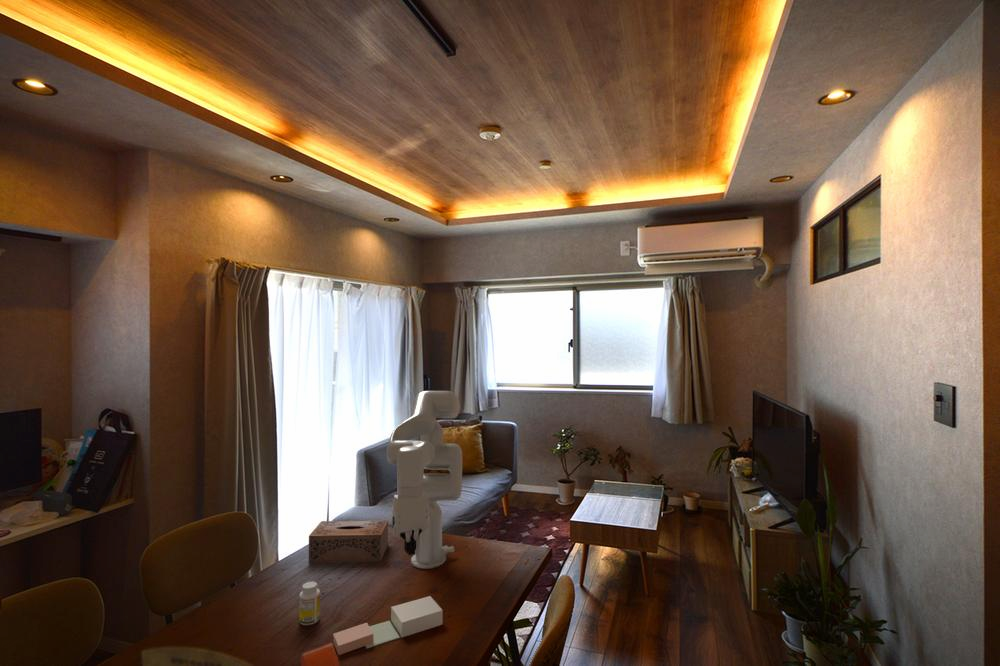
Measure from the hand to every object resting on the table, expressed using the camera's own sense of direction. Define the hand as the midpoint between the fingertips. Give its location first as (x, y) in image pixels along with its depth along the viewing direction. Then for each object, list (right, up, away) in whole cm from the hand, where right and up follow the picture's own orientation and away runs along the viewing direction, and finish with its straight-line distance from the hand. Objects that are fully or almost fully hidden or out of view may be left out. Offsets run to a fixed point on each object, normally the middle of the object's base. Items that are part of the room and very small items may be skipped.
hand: (410, 553), depth 142 cm
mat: (-7, -19, -8) cm, 21 cm away
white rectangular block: (+2, -19, -3) cm, 19 cm away
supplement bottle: (-29, -19, -2) cm, 34 cm away
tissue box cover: (-30, -20, +43) cm, 56 cm away
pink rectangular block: (-13, -16, -12) cm, 24 cm away
